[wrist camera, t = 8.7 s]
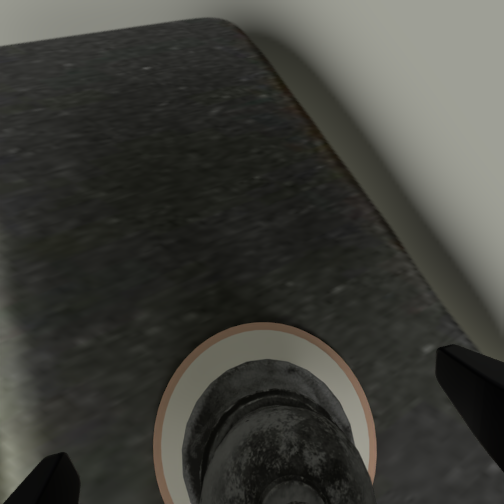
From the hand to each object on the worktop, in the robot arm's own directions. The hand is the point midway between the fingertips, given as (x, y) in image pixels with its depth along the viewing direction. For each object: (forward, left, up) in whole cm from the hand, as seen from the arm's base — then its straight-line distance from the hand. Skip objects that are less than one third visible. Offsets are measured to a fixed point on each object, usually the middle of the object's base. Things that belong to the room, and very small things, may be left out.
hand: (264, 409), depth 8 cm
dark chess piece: (-1, +1, -8) cm, 8 cm away
